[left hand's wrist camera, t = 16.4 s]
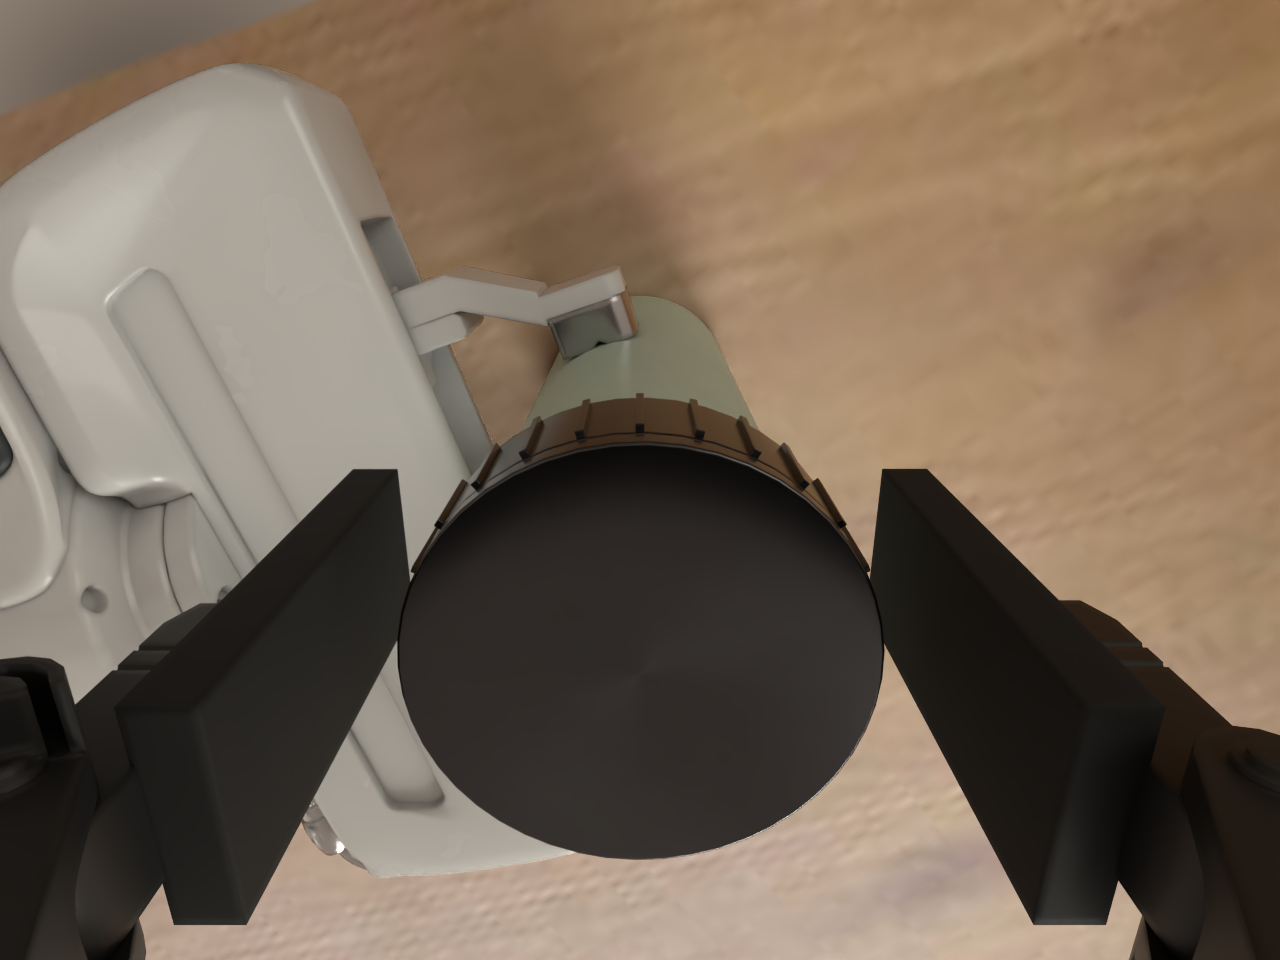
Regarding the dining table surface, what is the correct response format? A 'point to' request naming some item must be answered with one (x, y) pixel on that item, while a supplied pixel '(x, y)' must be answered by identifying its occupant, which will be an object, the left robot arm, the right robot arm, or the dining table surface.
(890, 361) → the dining table surface
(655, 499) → the lid
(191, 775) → the left robot arm
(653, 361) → the jar
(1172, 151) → the dining table surface
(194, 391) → the right robot arm
